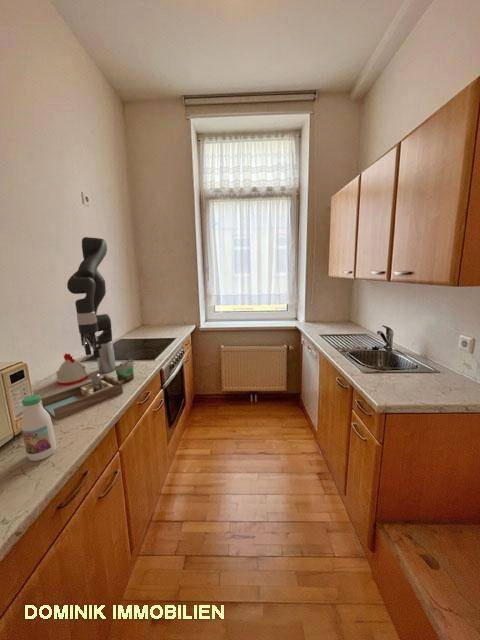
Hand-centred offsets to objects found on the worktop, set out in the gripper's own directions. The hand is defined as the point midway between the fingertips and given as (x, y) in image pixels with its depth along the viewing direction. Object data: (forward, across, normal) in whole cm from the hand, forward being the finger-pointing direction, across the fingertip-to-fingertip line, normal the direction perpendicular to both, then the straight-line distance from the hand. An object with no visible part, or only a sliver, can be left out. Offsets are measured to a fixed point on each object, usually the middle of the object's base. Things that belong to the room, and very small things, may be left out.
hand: (92, 356), depth 123 cm
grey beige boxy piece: (+18, 0, 0) cm, 18 cm away
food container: (+20, -4, +18) cm, 27 cm away
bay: (+19, 0, -6) cm, 20 cm away
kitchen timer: (+19, -30, 0) cm, 36 cm away
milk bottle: (+20, +27, -30) cm, 45 cm away
